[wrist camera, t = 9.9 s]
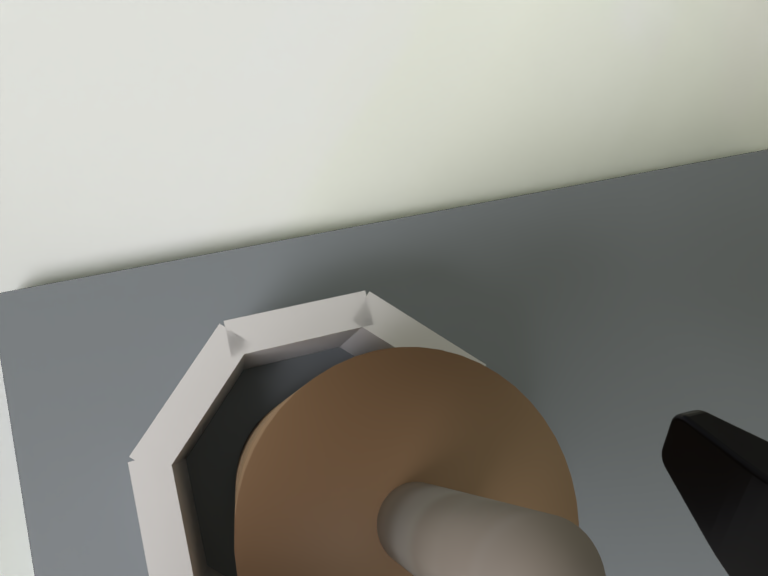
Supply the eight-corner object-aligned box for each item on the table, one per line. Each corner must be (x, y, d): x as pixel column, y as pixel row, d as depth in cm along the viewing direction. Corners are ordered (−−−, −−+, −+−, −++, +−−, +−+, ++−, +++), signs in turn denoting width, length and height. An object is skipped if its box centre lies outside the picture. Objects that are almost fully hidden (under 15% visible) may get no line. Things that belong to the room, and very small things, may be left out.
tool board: (753, 159, 24) (867, 98, 19) (886, 520, 22) (1046, 540, 17) (3, 302, 17) (-75, 259, 13) (89, 833, 15) (30, 991, 11)
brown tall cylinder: (431, 448, 18) (869, 475, 5) (347, 600, 17) (672, 1086, 4) (297, 361, 18) (440, 184, 5) (200, 508, 16) (83, 742, 4)
